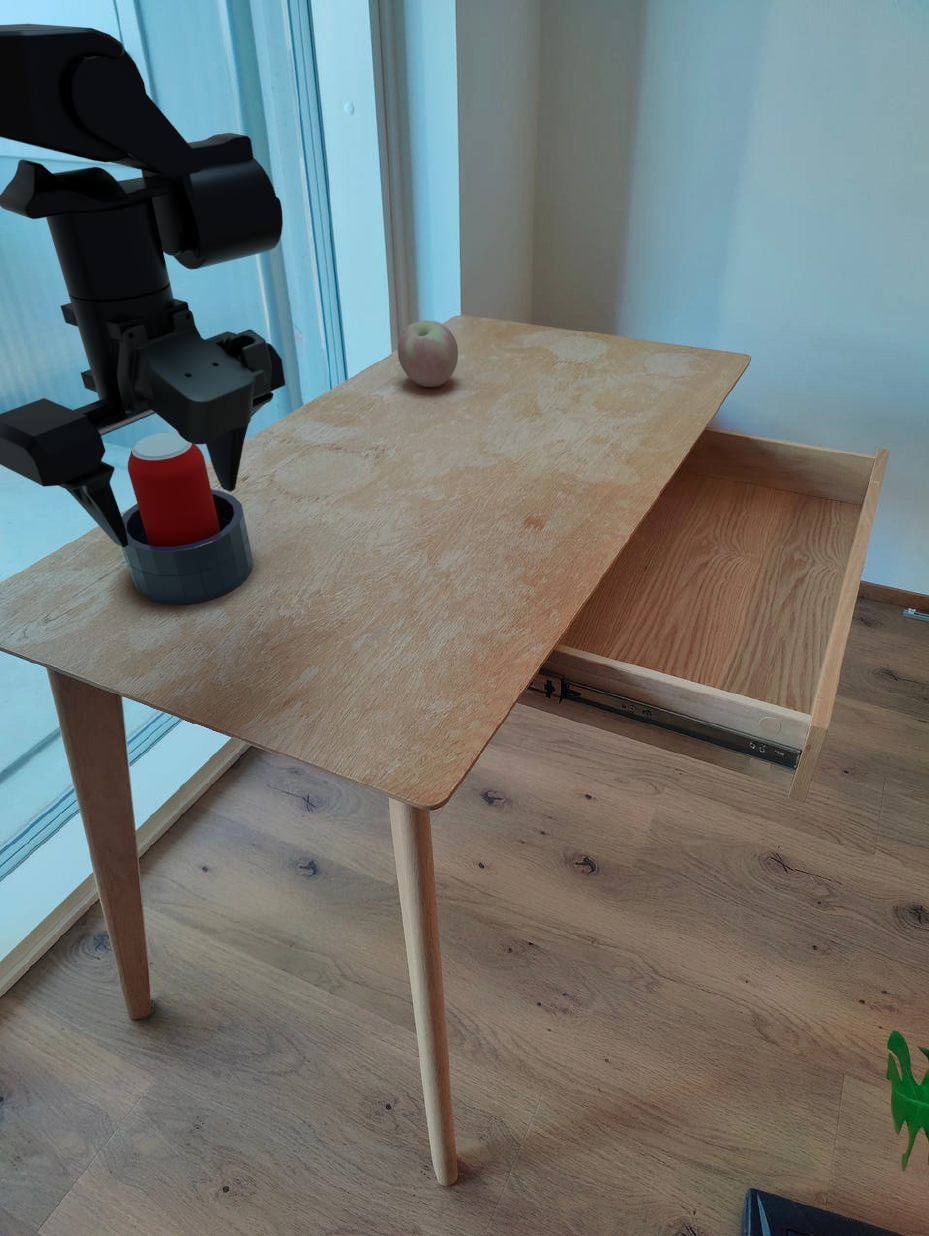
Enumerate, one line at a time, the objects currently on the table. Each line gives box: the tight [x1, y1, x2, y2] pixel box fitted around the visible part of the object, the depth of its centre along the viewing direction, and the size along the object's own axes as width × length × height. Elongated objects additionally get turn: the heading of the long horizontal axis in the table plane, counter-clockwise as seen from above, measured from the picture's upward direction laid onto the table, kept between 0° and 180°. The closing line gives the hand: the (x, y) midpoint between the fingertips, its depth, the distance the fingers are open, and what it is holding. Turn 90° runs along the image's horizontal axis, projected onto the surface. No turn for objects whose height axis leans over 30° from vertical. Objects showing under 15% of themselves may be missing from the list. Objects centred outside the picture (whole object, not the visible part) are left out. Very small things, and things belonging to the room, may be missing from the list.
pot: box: [121, 488, 254, 605], centre depth 74 cm, size 11×11×6 cm
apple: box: [397, 319, 459, 388], centre depth 107 cm, size 8×8×8 cm
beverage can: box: [127, 432, 220, 547], centre depth 72 cm, size 6×6×12 cm
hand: (177, 515), depth 59 cm, fingers open, 9 cm apart
